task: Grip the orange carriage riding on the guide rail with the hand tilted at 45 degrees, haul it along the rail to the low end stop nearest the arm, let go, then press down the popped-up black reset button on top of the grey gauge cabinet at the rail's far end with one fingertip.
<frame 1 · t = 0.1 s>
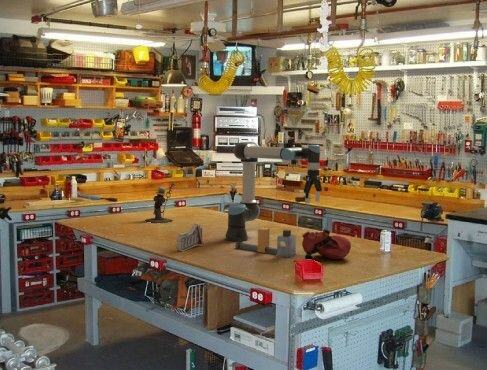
hand: (312, 202, 390), 28 cm above the workbench, tool pointing down, fingers open, 13 cm apart
decorative sign: (190, 248, 378), on the workbench
guide rail: (259, 251, 373), on the workbench
red backpack: (324, 259, 355), on the workbench
carriage: (263, 240, 371), point 7 cm above the workbench, slide at 11.0 cm
figurine: (158, 221, 476), on the workbench
reset button: (286, 235, 361), point 12 cm above the workbench, slide at 0.0 cm
gauge cabinet: (286, 255, 363), on the workbench
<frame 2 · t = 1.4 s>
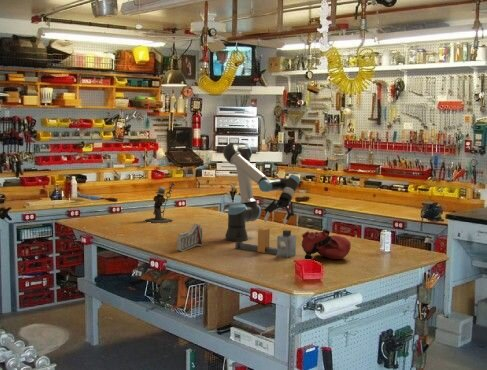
hand: (274, 222, 378), 17 cm above the workbench, tool tilted 45°, fingers open, 13 cm apart
nothing on the workbench moved.
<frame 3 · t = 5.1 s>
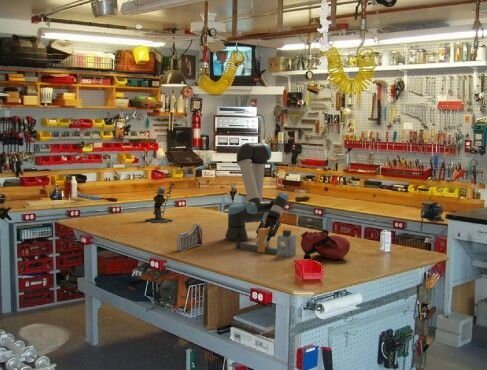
hand: (260, 244, 368), 5 cm above the workbench, tool tilted 45°, fingers closed on carriage, 5 cm apart
carriage: (263, 240, 371), point 7 cm above the workbench, slide at 11.0 cm, touching gripper
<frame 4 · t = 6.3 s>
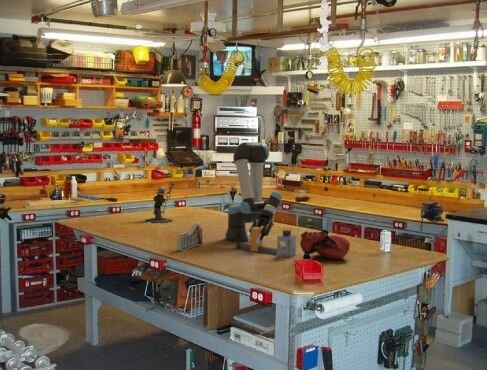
hand: (253, 243, 371), 5 cm above the workbench, tool tilted 45°, fingers closed on carriage, 5 cm apart
carriage: (256, 239, 373), point 7 cm above the workbench, slide at 6.0 cm, touching gripper
everything else where it was.
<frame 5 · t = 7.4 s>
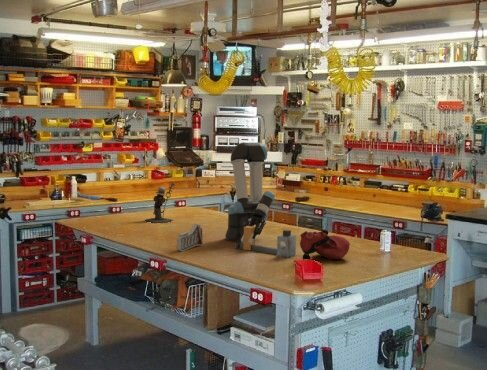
hand: (245, 242, 374), 5 cm above the workbench, tool tilted 45°, fingers closed on carriage, 5 cm apart
carriage: (249, 238, 376), point 7 cm above the workbench, slide at 0.5 cm, touching gripper
everything else where it was.
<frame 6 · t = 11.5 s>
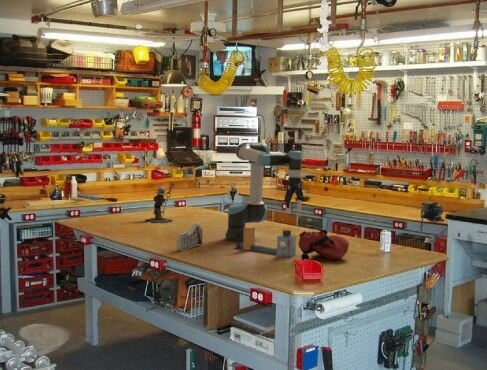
hand: (293, 212, 367), 25 cm above the workbench, tool pointing down, fingers open, 13 cm apart
carriage: (249, 238, 376), point 7 cm above the workbench, slide at 0.5 cm
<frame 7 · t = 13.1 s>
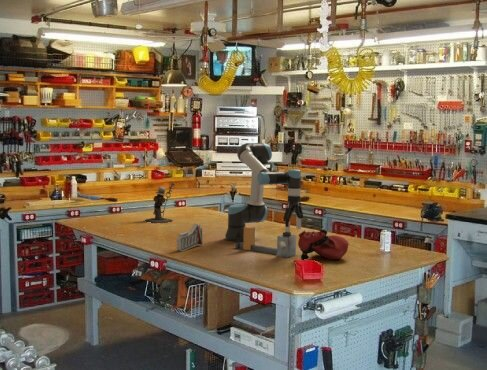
hand: (293, 230, 367), 14 cm above the workbench, tool pointing down, fingers open, 13 cm apart
reset button: (286, 237, 361), point 11 cm above the workbench, slide at 1.2 cm, touching gripper
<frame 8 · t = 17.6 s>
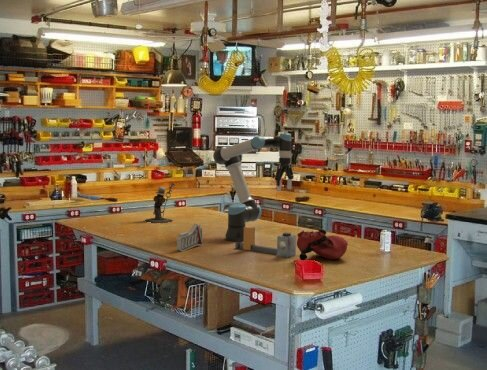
hand: (284, 190, 397), 35 cm above the workbench, tool pointing down, fingers open, 13 cm apart
reset button: (286, 237, 361), point 11 cm above the workbench, slide at 1.7 cm
at the end: carriage slide at 0.5 cm; reset button slide at 1.7 cm; the gripper is holding nothing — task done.
